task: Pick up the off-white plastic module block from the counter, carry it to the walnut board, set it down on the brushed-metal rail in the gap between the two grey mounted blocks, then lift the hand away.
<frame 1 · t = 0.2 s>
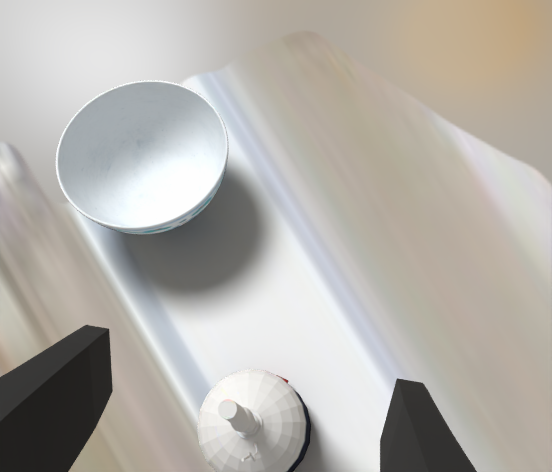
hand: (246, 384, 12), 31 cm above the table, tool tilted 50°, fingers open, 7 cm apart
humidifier: (261, 428, 41), on the table
chinaware: (163, 191, 50), on the table
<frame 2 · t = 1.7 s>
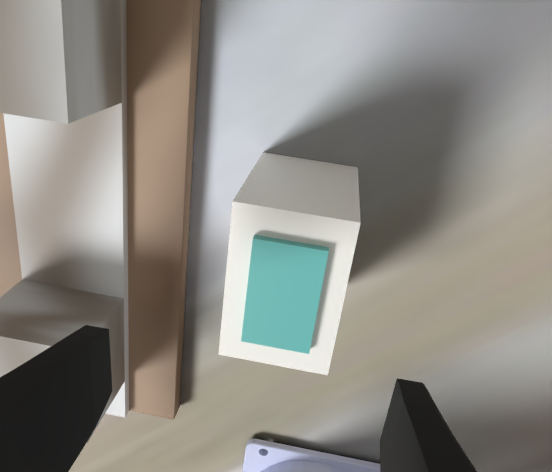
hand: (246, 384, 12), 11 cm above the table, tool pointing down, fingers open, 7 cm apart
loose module: (300, 224, 22), on the table
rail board: (84, 188, 22), on the table
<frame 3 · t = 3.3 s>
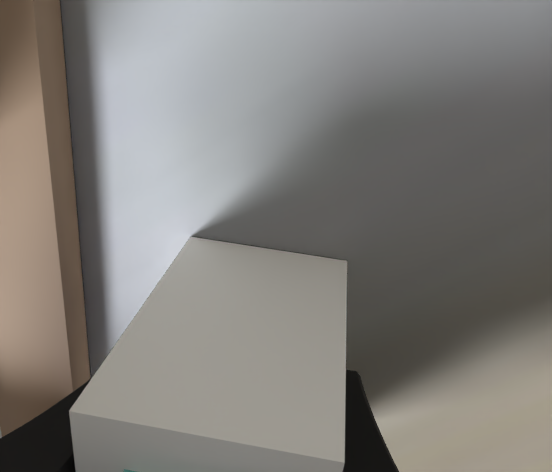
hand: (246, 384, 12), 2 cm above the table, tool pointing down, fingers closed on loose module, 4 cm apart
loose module: (257, 344, 14), on the table, touching gripper
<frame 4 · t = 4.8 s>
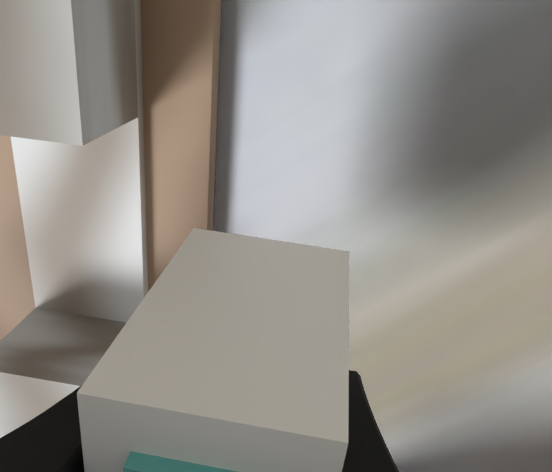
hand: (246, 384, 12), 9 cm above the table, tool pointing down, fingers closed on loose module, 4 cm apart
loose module: (260, 335, 14), point 7 cm above the table, touching gripper
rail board: (98, 209, 21), on the table
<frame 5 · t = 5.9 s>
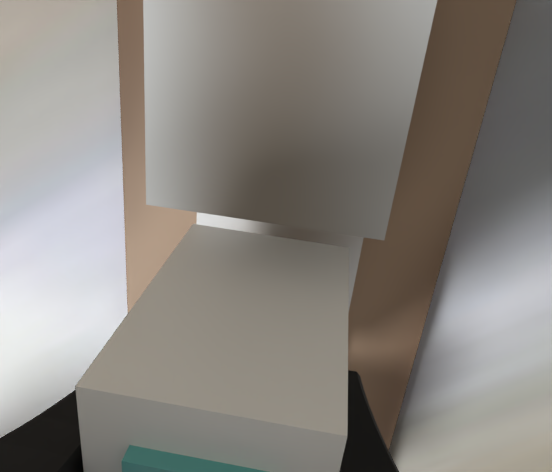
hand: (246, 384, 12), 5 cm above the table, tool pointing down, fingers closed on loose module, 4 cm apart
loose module: (259, 331, 14), point 4 cm above the table, touching gripper
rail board: (276, 277, 17), on the table
when the fingers open (5 cm above the table, at t = 6.5 s): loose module drops 1 cm, resting on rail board.
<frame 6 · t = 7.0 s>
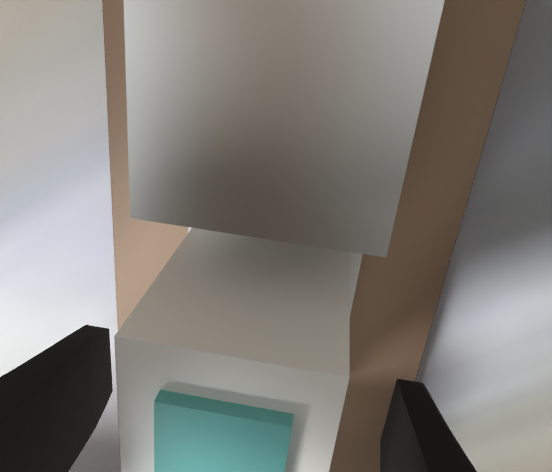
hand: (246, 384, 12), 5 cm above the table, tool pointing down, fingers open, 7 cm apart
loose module: (267, 307, 15), point 1 cm above the table, touching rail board
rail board: (272, 288, 16), on the table
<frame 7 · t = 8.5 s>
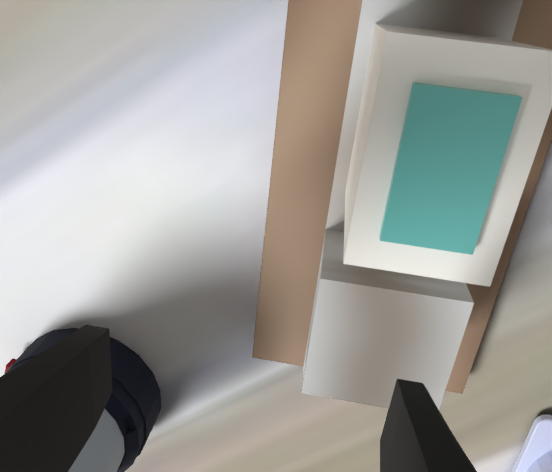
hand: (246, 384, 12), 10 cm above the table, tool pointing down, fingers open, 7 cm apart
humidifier: (92, 386, 28), on the table
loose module: (414, 120, 18), point 1 cm above the table, touching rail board
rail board: (408, 118, 19), on the table
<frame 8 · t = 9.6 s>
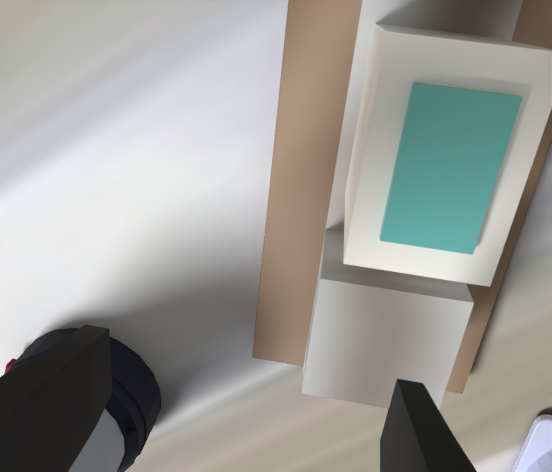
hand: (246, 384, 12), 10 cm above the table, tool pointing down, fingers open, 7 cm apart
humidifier: (92, 386, 28), on the table
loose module: (414, 120, 18), point 1 cm above the table, touching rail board
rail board: (408, 118, 19), on the table
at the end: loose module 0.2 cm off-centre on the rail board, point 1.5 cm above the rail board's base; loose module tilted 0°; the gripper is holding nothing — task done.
